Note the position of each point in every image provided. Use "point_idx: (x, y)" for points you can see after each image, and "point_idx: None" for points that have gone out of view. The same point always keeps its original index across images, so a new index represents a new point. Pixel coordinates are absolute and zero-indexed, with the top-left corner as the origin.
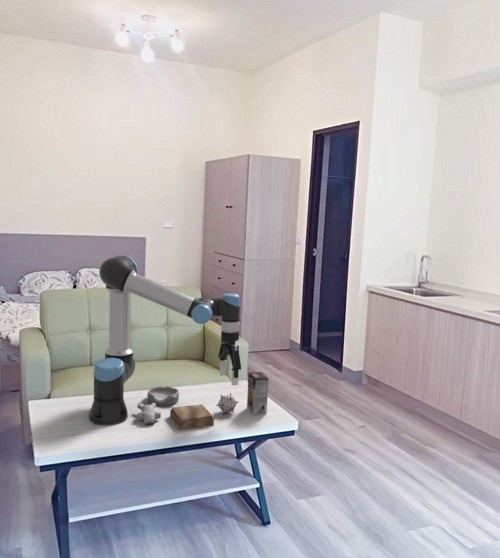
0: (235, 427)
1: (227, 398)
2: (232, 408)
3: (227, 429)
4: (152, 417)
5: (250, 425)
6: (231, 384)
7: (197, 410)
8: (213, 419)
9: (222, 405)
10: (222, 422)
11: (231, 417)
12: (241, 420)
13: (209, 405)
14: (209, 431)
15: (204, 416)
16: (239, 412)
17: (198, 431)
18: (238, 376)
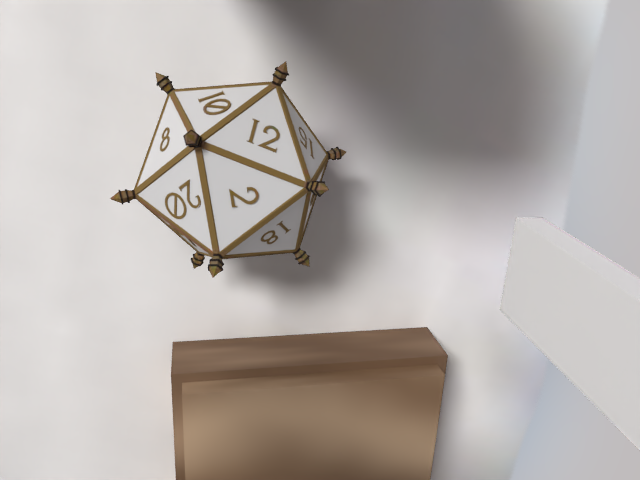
0: (521, 197)
1: (286, 211)
2: (334, 153)
3: None
4: None
5: (543, 71)
6: (503, 312)
7: (308, 451)
8: (443, 352)
9: (303, 251)
10: (404, 255)
11: None
12: (429, 99)
13: (5, 241)
14: (498, 373)
15: (436, 428)
16: (258, 35)
17: (468, 430)
18: (632, 273)
